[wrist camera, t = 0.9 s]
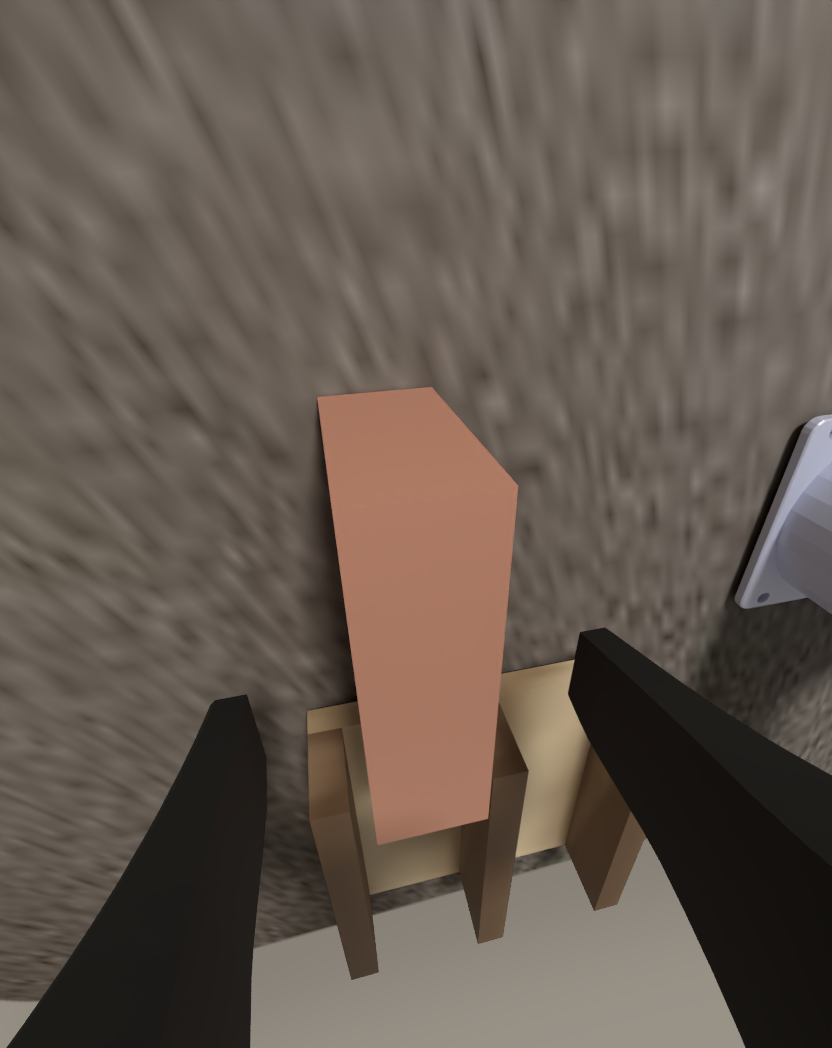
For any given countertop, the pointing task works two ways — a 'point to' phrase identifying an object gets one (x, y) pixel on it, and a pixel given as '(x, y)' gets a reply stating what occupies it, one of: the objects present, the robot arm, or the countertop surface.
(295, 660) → the countertop surface
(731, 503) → the countertop surface
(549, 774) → the book rack
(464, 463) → the book
